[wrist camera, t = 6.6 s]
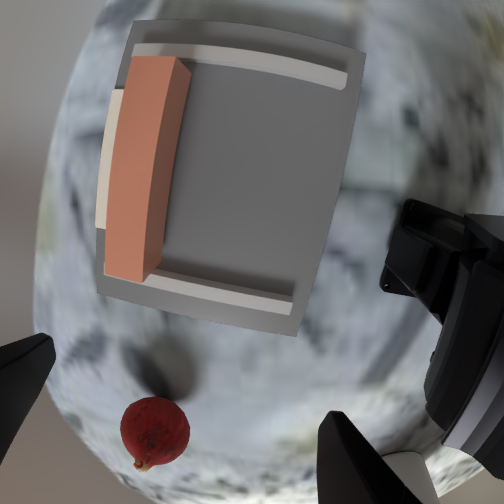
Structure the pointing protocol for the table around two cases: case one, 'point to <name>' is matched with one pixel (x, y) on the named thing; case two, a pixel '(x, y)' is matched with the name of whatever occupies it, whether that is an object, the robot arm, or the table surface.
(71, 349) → the table surface
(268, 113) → the box
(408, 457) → the cylinder vase
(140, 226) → the lever
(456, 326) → the robot arm
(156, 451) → the pomegranate
